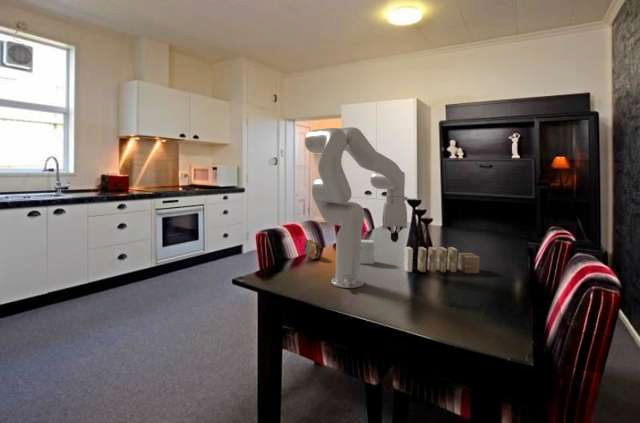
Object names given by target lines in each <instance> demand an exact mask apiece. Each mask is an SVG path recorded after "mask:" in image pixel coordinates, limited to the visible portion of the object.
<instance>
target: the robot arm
mask: <svg viewBox="0 0 640 423" xmlns="http://www.w3.org/2000/svg"><path fill="white" fill-rule="evenodd" d="M304 145H305V148H306V149H307V151H309V153H313V154H320V158H319V159H318V164H317V172H318V175H319V177H318V178H317V179H316V180H314V182H313V183H312V186H311V195H312V198H313V201H314V203H315V205H316V207H317V209H318V211H319V214H320V215H321V217H322V219H323V220H324V221H325V222H326V223H327V224H329V225H335V226H340V227H339V230H338V231H337V235H336V238H335V274H334V275H335V276H334V277H332V278H331V281H330V282H331V284H332V286H335V287H338V288H344V289H355V288H359V287H362V286H364V283H365V281H364V279H362V278H361V264H360V259H361V240H362V230H363V224H364V221H365V217H366V216H365V214H366V213H365V210H364V209H365V208H363V206H362V205H361V204H360V203H358V202H353V201H350V200H351V198H352V188H351V186H350V183H349V182H348V179H347V176H346V174H345V171H344V168H343V165H342V156H343V153H344V151H346V152H347V153H348V155H350V156H351V158H352V159H353V160H354V161H355V162H356V164H357V165H358V166H359V167H360V168H363V169H365V170H366V171H367V170H368V171H371V172H373V173H372V174H371V176H370V184H371V186H372V187H374V188H375V189H377V190H378V189H379V190H386V201H385V202H384V203H383V204H384V205H383V209H382V210H383V211H382V226H381V227H382V228H383V229H385V230H388V231H389V232H390V240H391V241H392V243H397V242H398V240H399V233H400V232H401V231H402V230H403V229H407V228H408V212H407V204H406V201H408V199H409V198H408V196H405V186H406V184H405V182H406V179H405V177H406V173H405V172H404V171H402V170H401V168H400V167H399V166H398V164H397V163H396V162H395V161H393V160H392V159H390V158H389V157H387V156H385V155H384V154H382V153H381V152H378V151H377V149H375V148H374V146H373V145H372V144H371V143H370V142H369V140H368V139H367V138H366V136H365V134H364V133H363V132H362V131H361V130H360V129H359V128H357V127H352V126H351V127H343V128H339V127H338V128H337V127H329V128H321V129H320V128H319V129H312V130H310V131H309V132H307V133H306V135H305V138H304ZM394 227H395V229H394Z"/></svg>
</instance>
